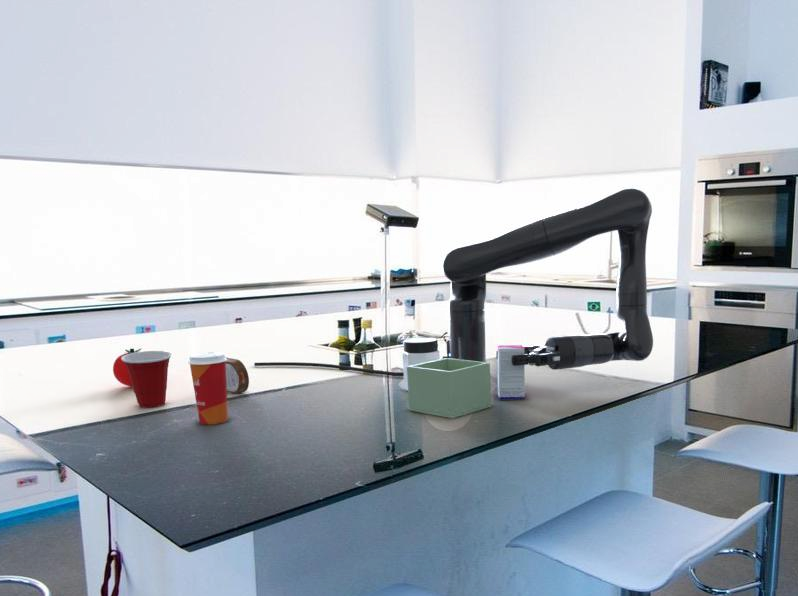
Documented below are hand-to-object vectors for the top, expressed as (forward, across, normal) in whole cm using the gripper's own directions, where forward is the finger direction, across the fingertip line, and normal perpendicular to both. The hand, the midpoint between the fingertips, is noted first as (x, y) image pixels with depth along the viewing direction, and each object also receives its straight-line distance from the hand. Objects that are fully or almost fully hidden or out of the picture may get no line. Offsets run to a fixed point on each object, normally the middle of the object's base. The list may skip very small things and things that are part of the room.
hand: (504, 357), depth 167 cm
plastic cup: (+75, -33, +9) cm, 82 cm away
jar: (+14, -18, +9) cm, 24 cm away
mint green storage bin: (+15, +4, +9) cm, 18 cm away
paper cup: (+62, -9, +9) cm, 64 cm away
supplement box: (-1, 0, +9) cm, 9 cm away
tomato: (+80, -61, +9) cm, 101 cm away
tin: (+57, -40, +9) cm, 71 cm away
